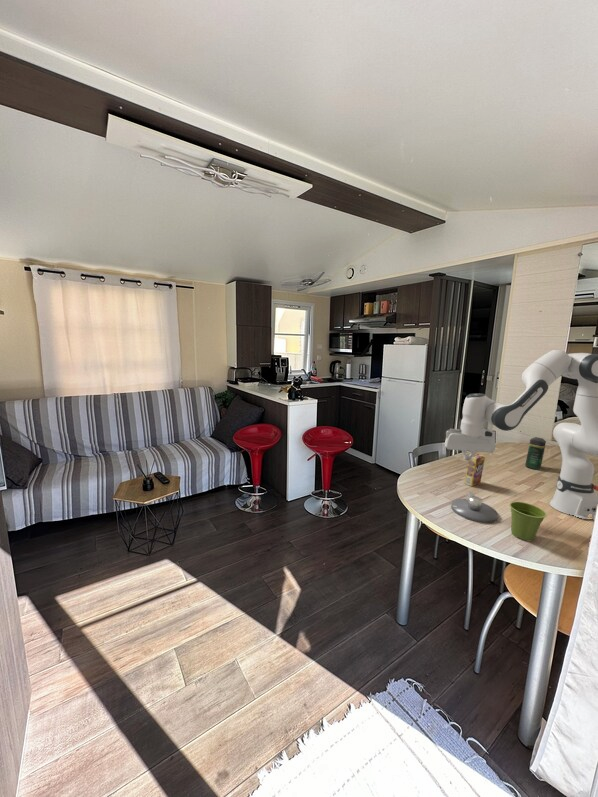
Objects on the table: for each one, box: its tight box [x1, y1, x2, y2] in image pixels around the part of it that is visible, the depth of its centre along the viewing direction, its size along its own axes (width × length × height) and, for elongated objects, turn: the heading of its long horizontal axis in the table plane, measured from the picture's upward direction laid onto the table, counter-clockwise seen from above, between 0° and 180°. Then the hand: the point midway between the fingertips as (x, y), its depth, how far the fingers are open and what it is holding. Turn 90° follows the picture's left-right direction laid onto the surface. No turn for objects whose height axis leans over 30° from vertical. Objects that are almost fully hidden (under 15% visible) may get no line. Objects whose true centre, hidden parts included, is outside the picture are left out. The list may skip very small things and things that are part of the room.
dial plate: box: [450, 498, 499, 524], centre depth 144 cm, size 18×18×2 cm
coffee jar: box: [524, 436, 547, 470], centre depth 202 cm, size 10×8×19 cm
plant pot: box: [509, 501, 548, 542], centre depth 127 cm, size 12×12×11 cm
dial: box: [466, 491, 483, 511], centre depth 146 cm, size 10×5×4 cm, turn 171°
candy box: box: [464, 453, 486, 487], centre depth 173 cm, size 9×4×15 cm, turn 123°
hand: (467, 459), depth 148 cm, fingers closed
